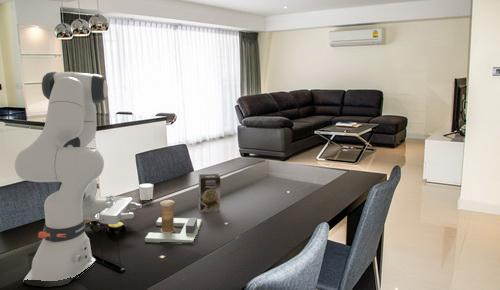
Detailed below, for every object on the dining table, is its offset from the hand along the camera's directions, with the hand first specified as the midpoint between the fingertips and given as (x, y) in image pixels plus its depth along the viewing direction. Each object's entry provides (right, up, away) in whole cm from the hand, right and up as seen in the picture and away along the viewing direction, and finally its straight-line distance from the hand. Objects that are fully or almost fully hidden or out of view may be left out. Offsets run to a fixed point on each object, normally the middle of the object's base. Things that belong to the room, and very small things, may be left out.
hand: (137, 210), depth 156 cm
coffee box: (+26, -4, +25) cm, 36 cm away
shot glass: (-6, 0, +36) cm, 37 cm away
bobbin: (+12, -8, +1) cm, 14 cm away
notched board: (+15, -8, +1) cm, 17 cm away
